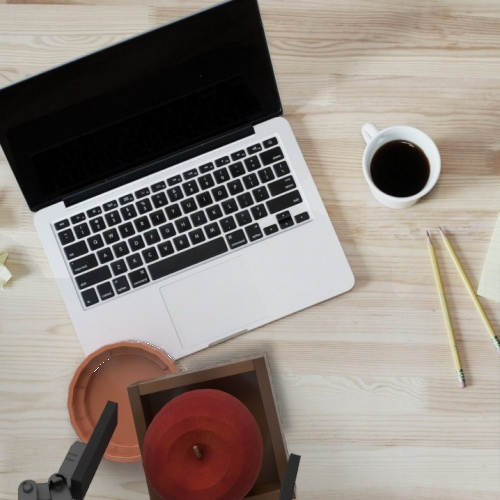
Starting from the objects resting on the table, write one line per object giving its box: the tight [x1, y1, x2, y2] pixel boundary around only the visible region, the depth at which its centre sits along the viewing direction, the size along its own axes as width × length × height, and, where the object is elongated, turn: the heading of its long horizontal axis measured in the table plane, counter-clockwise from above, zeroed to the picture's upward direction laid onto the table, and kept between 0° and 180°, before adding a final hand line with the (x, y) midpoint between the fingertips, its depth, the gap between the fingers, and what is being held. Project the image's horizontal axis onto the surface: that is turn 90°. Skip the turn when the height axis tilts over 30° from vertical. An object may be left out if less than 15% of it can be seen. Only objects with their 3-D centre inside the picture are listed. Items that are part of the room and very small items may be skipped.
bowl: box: [66, 340, 182, 464], centre depth 87 cm, size 14×14×3 cm
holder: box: [127, 353, 297, 500], centre depth 61 cm, size 12×12×4 cm
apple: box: [141, 389, 263, 500], centre depth 58 cm, size 10×10×10 cm
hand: (201, 437), depth 52 cm, fingers open, 13 cm apart
